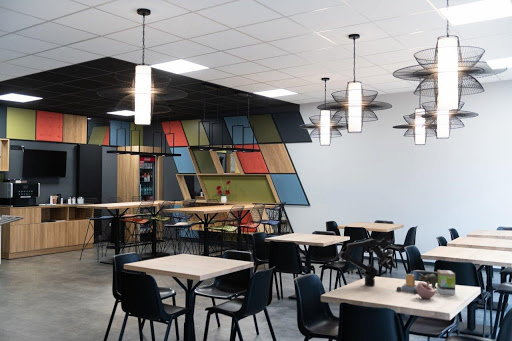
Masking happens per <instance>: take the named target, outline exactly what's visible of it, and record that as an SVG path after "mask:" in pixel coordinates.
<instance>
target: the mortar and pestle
mask: <svg viewBox="0 0 512 341" xmlns="http://www.w3.org/2000/svg"><path fill="white" fill-rule="evenodd" d="M427 283H428V284H427ZM427 283H426V282H424V281H423V282H422V281H420V282H418V283H417V284H416V285H417V293H416V294H417V295H418V296H419V297H421V299H425V300H428V299H429V300H430V299H431V298H433V297H434V296H435V294H436V290H435V289H433V288H432V285H431V284H430V283H429V282H427Z"/></svg>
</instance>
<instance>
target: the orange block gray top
mask: <svg viewBox="0 0 512 341" xmlns="http://www.w3.org/2000/svg"><path fill="white" fill-rule="evenodd" d="M405 284H406V286H410V287H415V285H416V275H415V274H412V273H407V274H406V275H405Z"/></svg>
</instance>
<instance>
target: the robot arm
mask: <svg viewBox="0 0 512 341" xmlns="http://www.w3.org/2000/svg"><path fill="white" fill-rule="evenodd" d="M389 246H390V243H389V241H387V240H386V239H385V238H381V240H379V241H377V240H376V239H373V238H368V239H366V240H364V241H363V240H362V241H358V242H352V243H351V242H350V243H347V244H346V245H345V246H344V247H343V248H342V249H341V251H339V252H338V254H337V255H338V258H339V259H341V260H343V261H346V262H348V263H349V262H350V263H351V264H353V265H354V266H356V267H358V268H360V269H361V270H363V271H364V273H363V276H364V286H367V287H368V286H369V287H373V286H375V285H376V283H375V282H376V281H375V278H376V276H377V274H378V270H377V268H376V267H375V266H373V265H371V264H365V263H363V262H360V261H359V260H358V259H355V258H354V257H352V256H351V255H350V254H351V251H352V250H353V249H354V250H355V249H358V248H364V247H367V248H368V247H369V252H370V253H371V252H372V253H374V255H375V256H376V258H378V261H377V264H378V265H379V266H381V267H383V268H385V269H387V270H389V271H392V268H393V269H396V268H397V266H396V265H395V263H394V255H393V254H394V251H393V250H392V249H388V250H387V251H384V250H385V249H386V248H388V247H389ZM391 267H392V268H391Z"/></svg>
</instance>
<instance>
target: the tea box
mask: <svg viewBox="0 0 512 341" xmlns="http://www.w3.org/2000/svg"><path fill="white" fill-rule="evenodd" d="M436 272H437V273H436V280H437V281H436V291H438V293H440V294H441V295H453V296H454V295H456V273H455V272H453V271H452V270H445V269H443V270H441V269H437V271H436Z"/></svg>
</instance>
